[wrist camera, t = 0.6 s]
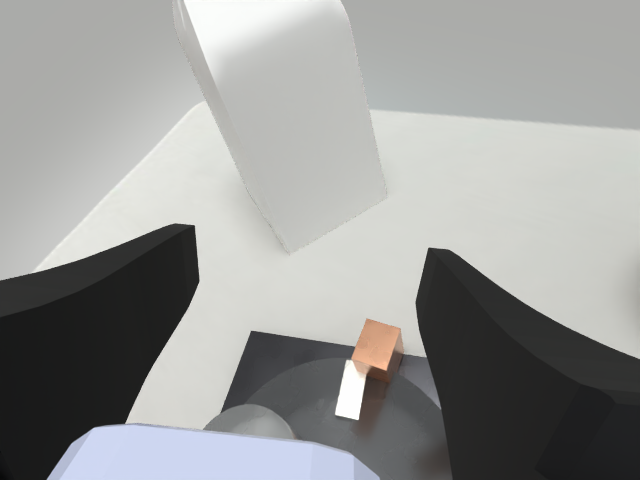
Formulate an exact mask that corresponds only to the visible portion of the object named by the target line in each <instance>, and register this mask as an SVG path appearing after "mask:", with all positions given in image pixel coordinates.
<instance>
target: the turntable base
mask: <svg viewBox="0 0 640 480" xmlns="http://www.w3.org/2000/svg"><path fill="white" fill-rule="evenodd" d="M354 350H355V347H353V346H347V345H340V344H334V343H328V342H321V341H315V340H308V339H302V338H295V337H289V336H282V335H276V334H269V333H263V332H256V331H251V333H250V336H249V338H248V341H247V344H246V346H245V349H244V352H243V354H242V357H241V360H240V362H239V365H238V368H237V370H236V373H235V376H234V378H233V381H232V384H231V386H230V389H229V392H228V394H227V397H226V400H225V403H224V405H223V408H222V411H221V413H222V412H224V411H226V410H228V409H230V408H232V407H236V406H239V405H244V404H245V403H246V402H247V400H248V399H249V398H250V397H251V396H252V395H253V394H254V393H255V392H257V391H258V390H259V389H260V388H261V387H262V386H263V385H265V384H266V383H267V382H269V381H270V380H272V379H273V378H275V377H276V376H278V375H279V374H281V373H283V372H285V371H287V370H289V369H291V368H293V367H296V366H298V365H301V364H303V363H307V362H311V361H315V360H320V359H328V358H352V355H353V353H354ZM397 373H398V374H399V375H401V376H403V377H405V378H406V379H408V380H409V381H410V382H412V383H413V384H414V385H416V386H417V387H418V388H420V389H421V390H422V391H423V392H424V393H425V394H426V395H427V396H428V397H429V398H430V399H431V400H432V401H433V402H434V403H435V404H436V405H437V406H438V407H439V409H440V410H441V406H440V402H439V398H438V393H437V390H436V386H435V383H434V380H433V376H432V373H431V369H430V366H429V363H428V359H427V358H425V357H418V356H412V355H405V354H403V356H402V359H401V362H400V365H399V368H398V372H397ZM221 413H220V414H221Z"/></svg>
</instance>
